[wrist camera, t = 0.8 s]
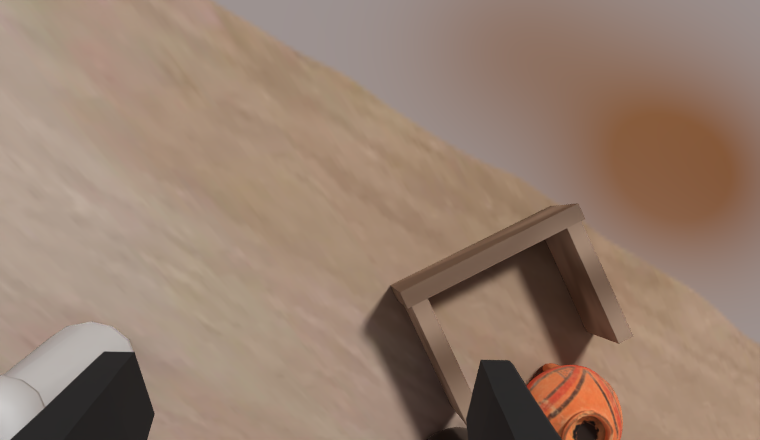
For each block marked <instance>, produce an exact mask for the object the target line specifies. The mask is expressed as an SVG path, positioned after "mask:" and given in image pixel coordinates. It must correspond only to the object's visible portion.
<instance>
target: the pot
mask: <svg viewBox="0 0 760 440" xmlns="http://www.w3.org/2000/svg"><path fill="white" fill-rule="evenodd" d="M542 369H543V372H542V373H541V374H539V375H537V376H536V377H535V378H533V379H532V380H531V381H530V382H529V383H528V385H527V388H528V389H529V391H530V392H531V394H532V396H533V397H534V399H535V400H536V402H537V403H538V405H539V406H540V408H541V409H542V411H543V412H544V414H545V415H546V417H547V418H548V420H549V421H550V423H551V424H552V426H553V427H554V429H555V430H556V432H557V433H558V434H559V436H560V437H561V439H562V440H620V438H621V434H622V425H623V419H622V411H621V407H620V403H619V400H618V397H617V395H616V393H615V392H614V390H613V388H612V387H611V386H610V384H609V383H607V382H606V381H605V380H604V379H603V378H602V377H600V376H599V375H598V374H597V373H595V372H594V371H592V370H591V369H589V368H586V367H582V366H577V365H563V366H559V365H556V364H552V363H549V364H545V365H544V366H543V368H542Z"/></svg>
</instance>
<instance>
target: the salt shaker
mask: <svg viewBox="0 0 760 440" xmlns="http://www.w3.org/2000/svg"><path fill="white" fill-rule="evenodd" d="M104 351H110V352H134V351H133V349H132V347H131V344H130V340H129V339H128V338H126V337H125V336H124V335H123V334H121V333H120V332H119V331H118V330H117V329H115V328H114V327H113V326H109V325H105V324H101V323H96V322H87V323H81V324H76V325H71V326H67V327H65V328H64V329H62V330H61V331H59V332H58V333H56V334H55V335H53V336H52V337H50V338H49V339H48V340H46V341H45V342H44V343H43V344H41V345H40V346H39V347H37V348H36V349H35V350H34V351H32V352H31V353H30V354H29V355H27V356H26V357H25V358H24V359H22V360H21V361H20V362H19V363H17V364H16V365H15V366H14V367H12V368H11V369H10V370H8V371H7V372H6V373H5V374H3V375H0V440H10V439H11V438H12V437H14V436H15V435H16V434H17V433H18V432H19V431H20V430H21V429H22V428H23V427H24V426H25V425H27V424H28V423H29V422H30V421H31V420H32V419H33V418H34V417H35V416H36V415H37V414H38V413H39V412H41V411H42V410H43V409H44V408H45V407H46V406H47V405H48V404H49V403H50V402H51V401H52V400H53V399H54V398H55V397H56V396H57V395H58V394H59V393H61V392H62V391H63V390H64V389H65V388H66V387H67V386H68V385H69V384H70V383H71V382H72V381H73V380H74V379H75V378H76V377H77V376H78V375H79V374H80V373H81V372H82V371H84V370H85V369H86V368H87V367H88V366H89V365H90V364H91V363H92V362H93V361H94V360H95V359H96V358H97V357H98V356H100V355H101V354H102V353H103V352H104Z"/></svg>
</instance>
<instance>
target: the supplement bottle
mask: <svg viewBox="0 0 760 440" xmlns="http://www.w3.org/2000/svg"><path fill="white" fill-rule="evenodd" d="M427 440H468V432H467V428H461V427H453V428H447V429H444V430H441V431H439V432H437V433H435V434H433V435H432V436H431V437H429V438H428V439H427Z"/></svg>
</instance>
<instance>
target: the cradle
mask: <svg viewBox="0 0 760 440" xmlns="http://www.w3.org/2000/svg"><path fill="white" fill-rule="evenodd" d="M584 219H585V217H584V215H583V213H582V211H581V208H580V206H579V204H568V205H558V206H550V207H548V208H546V209H544V210H542V211H540V212H538V213H536V214H534V215H531V216H529V217H527V218H525V219H523V220H521V221H519V222H517V223H515V224H513V225H511V226H509V227H507V228H505V229H503V230H501V231H499V232H497V233H495V234H493V235H491V236H489V237H487V238H485V239H483V240H481V241H479V242H477V243H475V244H473V245H471V246H469V247H467V248H465V249H463V250H461V251H459V252H457V253H455V254H453V255H451V256H449V257H447V258H445V259H443V260H441V261H439V262H437V263H435V264H433V265H431V266H429V267H427V268H425V269H423V270H421V271H418V272H416V273H414V274H412V275H410V276H408V277H406V278H404V279H402V280H400V281H398V282H396V283H394V284H392V285H390V286H391V288H392V290H393V292H394V294H395V296H396V298H397V300H398V301H399V302H400V303H402V304H403V305H404V306H405V308H406V310H407V312H408V314H409V317H410V319H411V321H412V323H413V325H414V327H415V329H416V332H417V334H418V336H419V338H420V340H421V342H422V344H423V347H424V349H425V351H426V353H427V355H428V357H429V359H430V361H431V364H432V366H433V368H434V370H435V372H436V374H437V376H438V379H439V381H440V383H441V385H442V387H443V389H444V391H445V393H446V396H447V398H448V400H449V402H450V404H451V406H452V407H453V409H454V410H455V411H456V412H457V414H458V415H459V416H460V417H461V419H462V420H463V421H464V423H465V424H466V425H467V423H466V417H467V413H468V409H469V405H470V401H471V397H472V392H471V390H470V388H469V386H468V384H467V382H466V379H465V377H464V375H463V373H462V371H461V369H460V367H459V364H458V362H457V360H456V358H455V356H454V354H453V352H452V349H451V347H450V345H449V343H448V341H447V339H446V337H445V334H444V332H443V330H442V328H441V326H440V324H439V322H438V319H437V317H436V315H435V313H434V311H433V309H432V307H431V304H430V302H429V300H428V298H430V297H432V296H434V295H436V294H438V293H440V292H442V291H444V290H446V289H448V288H450V287H452V286H454V285H456V284H458V283H459V282H461V281H463V280H465V279H467V278H469V277H471V276H473V275H475V274H477V273H479V272H481V271H483V270H485V269H487V268H489V267H491V266H493V265H495V264H497V263H499V262H501V261H503V260H505V259H507V258H509V257H511V256H513V255H515V254H517V253H519V252H521V251H523V250H525V249H527V248H529V247H531V246H533V245H535V244H537V243H539V242H541V241H543V240H546V242H547V245H548V247H549V249H550V251H551V254H552V256H553V258H554V260H555V262H556V265H557V267H558V269H559V271H560V273H561V276H562V278H563V280H564V282H565V284H566V287H567V289H568V291H569V293H570V295H571V298H572V300H573V302H574V304H575V307H576V309H577V311H578V313H579V315H580V318H581V320H582V322H583V324H584V326H585V329H586V331H587V332H589V333H592V334H594V335H597V336H600V337H602V338H605V339H608V340H610V341H613V342H616V343H619V344H620V343H622V342H623V341H625V340H627V339H629V338H631V337H632V336H633V334H632V332H631V330H630V328H629V325H628V323H627V321H626V319H625V316H624V314H623V312H622V310H621V307H620V305H619V303H618V301H617V299H616V296H615V294H614V292H613V290H612V287H611V285H610V283H609V281H608V279H607V276H606V274H605V272H604V270H603V267H602V265H601V263H600V261H599V258H598V256H597V254H596V252H595V250H594V247H593V245H592V243H591V241H590V238H589V236H588V234H587V232H586V229H585V227H584V225H583V223H582V220H584Z"/></svg>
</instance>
